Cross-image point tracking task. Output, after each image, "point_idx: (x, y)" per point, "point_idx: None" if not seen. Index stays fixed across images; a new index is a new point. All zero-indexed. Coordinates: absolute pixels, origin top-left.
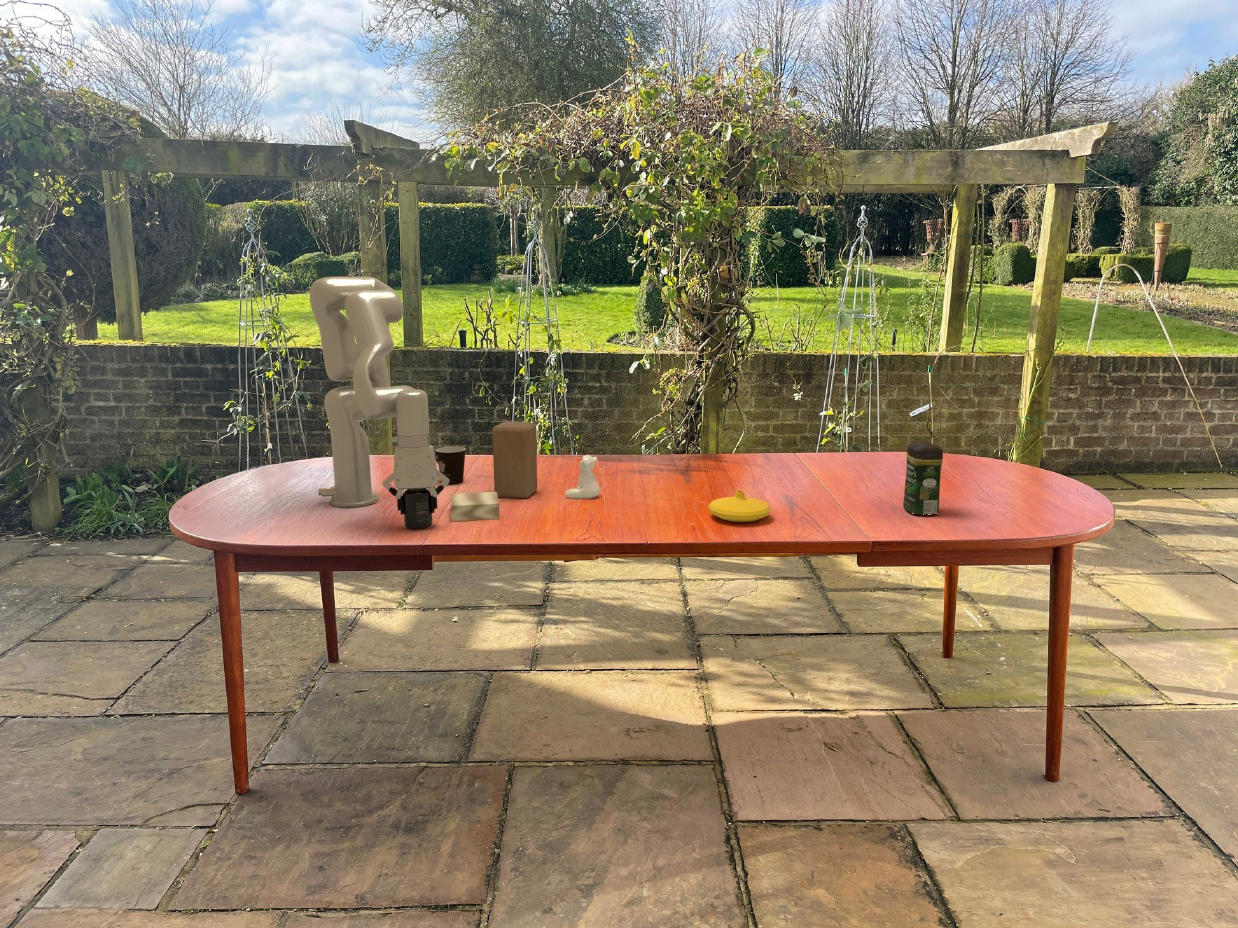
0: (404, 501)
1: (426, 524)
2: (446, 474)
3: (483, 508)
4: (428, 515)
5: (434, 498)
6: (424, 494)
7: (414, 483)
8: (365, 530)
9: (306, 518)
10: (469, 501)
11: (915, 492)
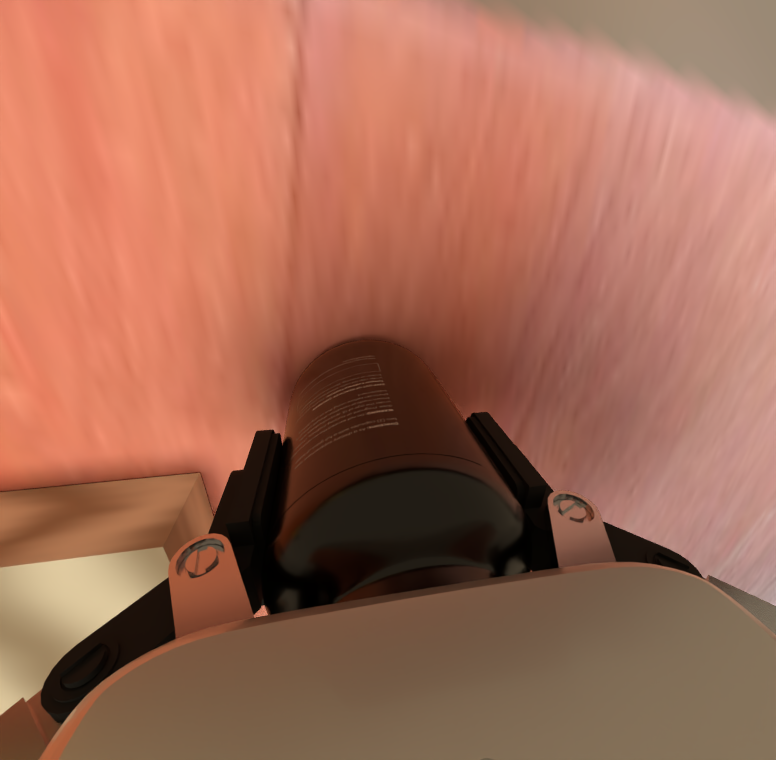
0: (499, 470)
1: (317, 363)
2: None
3: None
4: (300, 403)
5: (230, 533)
6: (314, 524)
7: (485, 676)
8: (609, 373)
9: (738, 522)
10: (59, 622)
11: None
